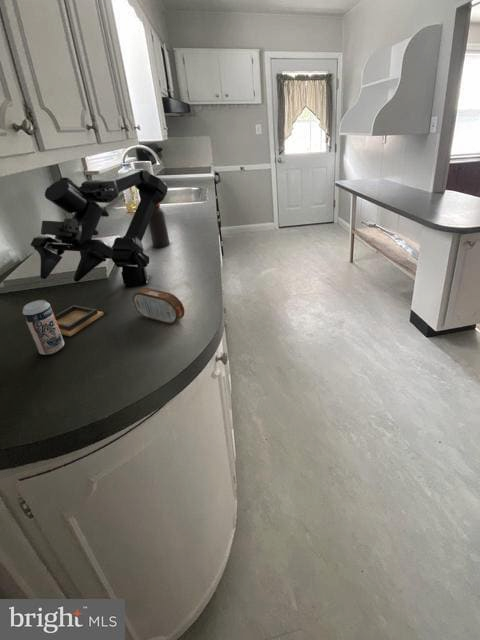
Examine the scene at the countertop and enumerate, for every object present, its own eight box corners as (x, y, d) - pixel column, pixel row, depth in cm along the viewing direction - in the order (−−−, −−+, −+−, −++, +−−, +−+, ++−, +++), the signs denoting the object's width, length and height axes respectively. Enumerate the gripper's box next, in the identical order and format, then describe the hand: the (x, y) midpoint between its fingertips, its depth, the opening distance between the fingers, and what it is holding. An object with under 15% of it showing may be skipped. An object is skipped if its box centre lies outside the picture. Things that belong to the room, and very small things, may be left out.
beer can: (50, 357, 67) (32, 312, 63) (34, 354, 68) (15, 309, 64) (70, 344, 71) (54, 300, 67) (54, 341, 73) (37, 297, 68)
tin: (187, 321, 79) (182, 293, 76) (179, 328, 76) (173, 299, 73) (143, 310, 84) (137, 283, 81) (134, 316, 82) (127, 289, 78)
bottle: (154, 243, 135) (145, 198, 127) (170, 241, 136) (162, 197, 128) (152, 248, 128) (142, 201, 121) (169, 246, 130) (160, 200, 122)
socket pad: (76, 308, 86) (74, 302, 85) (104, 314, 83) (102, 308, 82) (40, 329, 77) (37, 323, 76) (70, 336, 74) (67, 329, 73)
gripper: (25, 204, 72) (-8, 264, 66) (93, 206, 69) (65, 270, 63) (62, 227, 83) (37, 281, 76) (123, 230, 79) (102, 286, 73)
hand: (59, 279), depth 72 cm, fingers open, 9 cm apart
